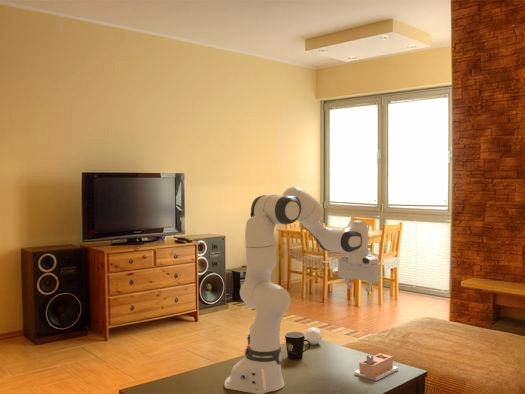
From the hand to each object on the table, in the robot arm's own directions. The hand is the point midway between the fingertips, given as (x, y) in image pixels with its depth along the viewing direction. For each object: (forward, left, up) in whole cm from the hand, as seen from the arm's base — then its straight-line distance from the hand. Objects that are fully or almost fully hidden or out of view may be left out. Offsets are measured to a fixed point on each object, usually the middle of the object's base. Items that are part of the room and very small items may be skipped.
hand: (358, 289), depth 231 cm
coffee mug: (-26, -8, -29) cm, 40 cm away
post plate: (+8, -18, -29) cm, 35 cm away
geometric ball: (-22, +14, -29) cm, 39 cm away
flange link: (+8, -18, -28) cm, 34 cm away
